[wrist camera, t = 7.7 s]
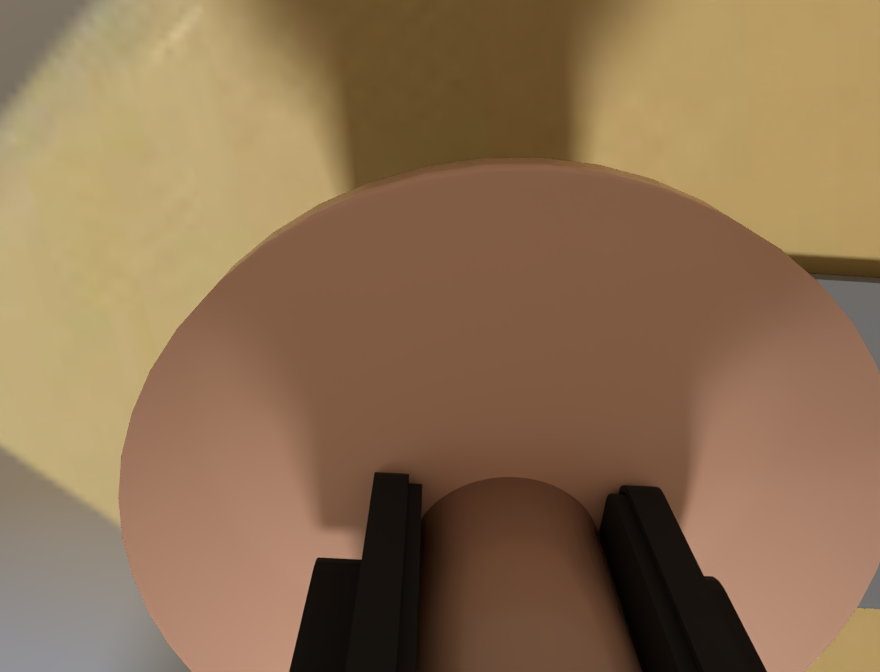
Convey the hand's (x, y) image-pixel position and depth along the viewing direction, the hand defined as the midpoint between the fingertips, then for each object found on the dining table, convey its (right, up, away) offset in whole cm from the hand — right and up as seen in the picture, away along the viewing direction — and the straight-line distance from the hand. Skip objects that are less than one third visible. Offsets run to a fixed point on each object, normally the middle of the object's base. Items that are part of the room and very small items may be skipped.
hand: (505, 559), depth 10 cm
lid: (0, 0, +1) cm, 1 cm away
